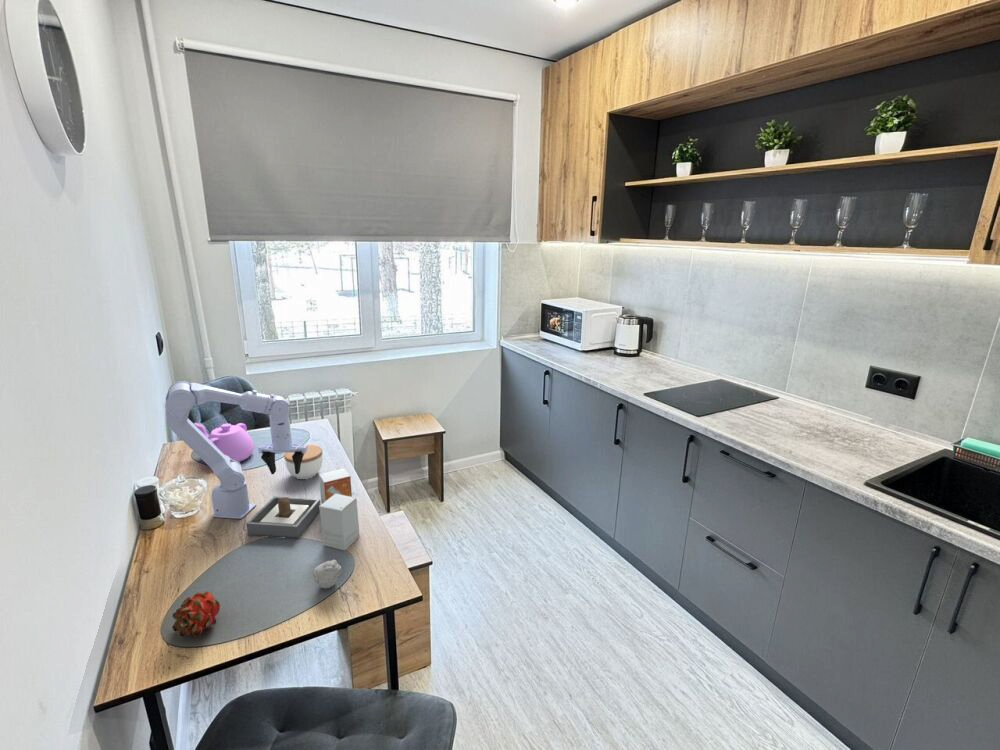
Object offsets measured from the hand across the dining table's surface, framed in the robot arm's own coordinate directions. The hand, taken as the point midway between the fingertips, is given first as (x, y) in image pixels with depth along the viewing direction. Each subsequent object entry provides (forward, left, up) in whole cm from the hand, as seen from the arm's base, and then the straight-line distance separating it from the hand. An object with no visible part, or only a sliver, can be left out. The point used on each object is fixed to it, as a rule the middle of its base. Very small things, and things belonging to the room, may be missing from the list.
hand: (285, 472), depth 154 cm
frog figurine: (+30, -38, -10) cm, 49 cm away
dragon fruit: (+7, -53, -10) cm, 54 cm away
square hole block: (+6, -13, -9) cm, 17 cm away
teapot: (-39, +26, -10) cm, 48 cm away
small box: (+19, -6, -10) cm, 22 cm away
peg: (+6, -13, -9) cm, 17 cm away
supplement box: (+26, -20, -10) cm, 34 cm away
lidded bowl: (-2, +16, -10) cm, 19 cm away
